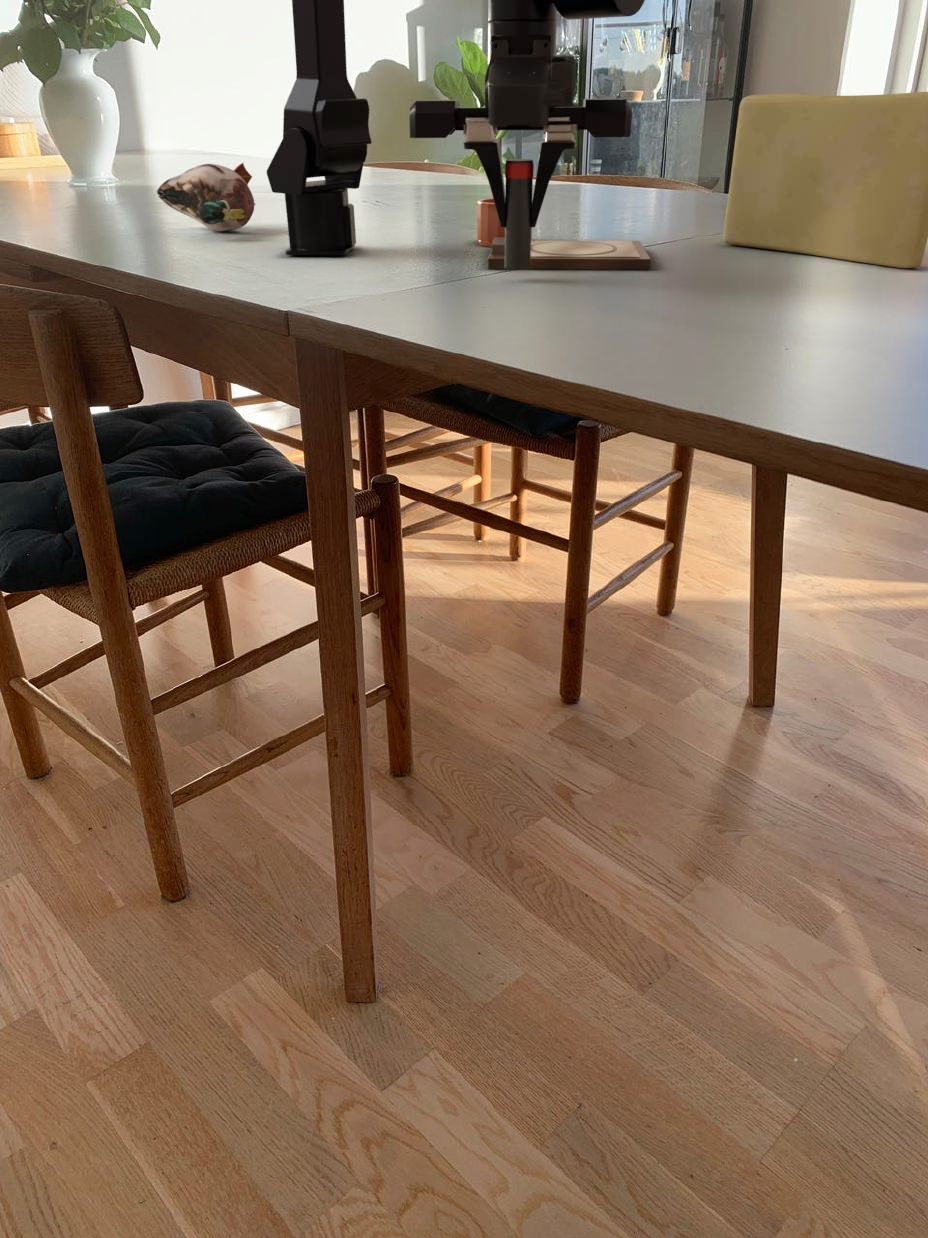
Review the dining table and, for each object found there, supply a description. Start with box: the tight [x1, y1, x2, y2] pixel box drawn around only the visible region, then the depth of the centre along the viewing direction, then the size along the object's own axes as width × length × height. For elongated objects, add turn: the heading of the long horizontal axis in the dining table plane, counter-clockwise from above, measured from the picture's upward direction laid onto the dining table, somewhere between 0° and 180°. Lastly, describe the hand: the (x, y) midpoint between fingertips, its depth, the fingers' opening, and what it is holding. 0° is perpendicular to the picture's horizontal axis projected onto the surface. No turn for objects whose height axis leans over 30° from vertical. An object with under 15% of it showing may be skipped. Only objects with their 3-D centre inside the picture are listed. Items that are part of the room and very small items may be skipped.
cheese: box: [722, 91, 928, 269], centre depth 93 cm, size 22×10×15 cm, turn 31°
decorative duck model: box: [156, 162, 256, 232], centre depth 113 cm, size 15×8×15 cm
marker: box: [504, 158, 535, 271], centre depth 83 cm, size 2×2×9 cm
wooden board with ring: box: [487, 237, 652, 271], centre depth 95 cm, size 16×12×2 cm
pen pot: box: [476, 197, 533, 248], centre depth 104 cm, size 6×6×4 cm
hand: (518, 226), depth 83 cm, fingers closed on marker, 2 cm apart
